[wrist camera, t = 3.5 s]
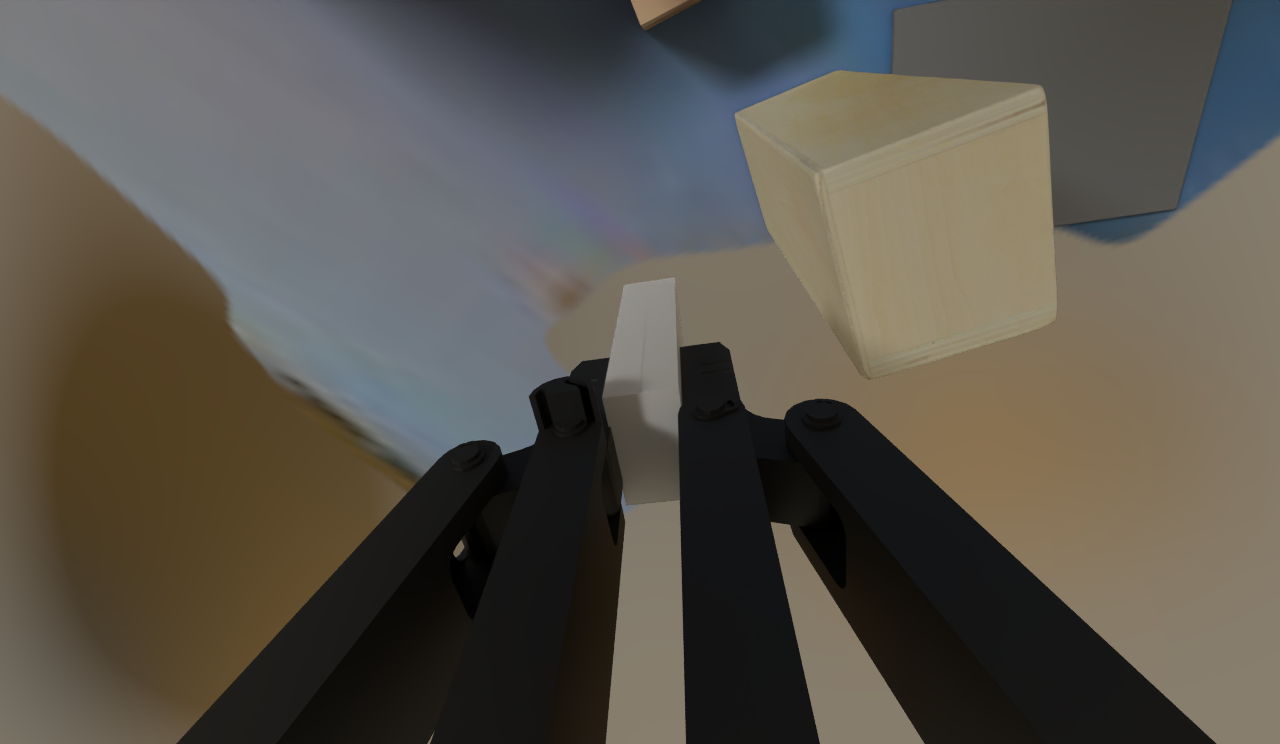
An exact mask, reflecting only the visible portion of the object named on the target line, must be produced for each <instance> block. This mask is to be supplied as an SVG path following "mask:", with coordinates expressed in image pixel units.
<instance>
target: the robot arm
mask: <svg viewBox="0 0 1280 744" xmlns="http://www.w3.org/2000/svg"><path fill="white" fill-rule="evenodd" d="M529 399H530V402H531V406H532V409H533V412H534V416H535V419H536V423H537V426H538V429H539V433H538V435H537V438H536V441H535V444H534V445H532V446H529V447H527V448H524V449H521V450H518V451H515V452H512V453H508V454H505V455H502V452H501V449H500V446H498V445H497V444H496V443H495V442H492V441H487V440H480V441H470V442H467V443H463V444H460V445H458V446H457V447H455V448H453V449H451V450H449V451H448V452H447V453H445V454H444V455H443V456H442V457H441V458H439V459H438V460H437V462H436V463H435V464H434V465H433V466H432V467H431V468H430V469H429V470H428V471H427V472H426V474H425V475H424V476H423V477H422V478H421V479H420V480H419V481H418V482H417V483H416V484H415V485H414V487H413V488H412V489H411V490H410V491H409V492H408V493H407V494H406V495H405V496H404V497H403V498H402V500H401V501H400V502H399V503H398V504H397V505H396V506H395V507H394V508H393V509H392V511H390V513H389V514H388V515H387V516H386V517H385V518H384V519H383V520H382V521H381V522H380V524H379V525H378V526H377V527H376V528H375V529H374V530H373V531H372V532H371V533H370V534H369V535H368V536H367V538H366V539H365V540H364V541H363V542H362V543H361V544H360V545H359V546H358V547H357V548H356V549H355V551H354V552H353V553H352V554H351V555H350V556H349V557H348V558H347V559H346V560H345V561H344V563H343V564H342V565H341V566H340V567H339V568H338V569H337V570H336V571H335V572H334V573H333V574H332V576H331V577H330V578H329V579H328V580H327V581H326V582H325V583H324V584H323V585H322V586H321V587H320V589H319V590H318V591H317V592H316V593H315V594H314V595H313V596H312V597H311V598H310V599H309V601H308V602H307V603H306V604H305V605H304V606H303V607H302V608H301V609H300V610H299V611H298V613H296V615H295V616H294V617H293V618H292V619H291V620H290V621H289V622H288V623H287V624H286V625H285V627H284V628H283V629H282V630H281V631H280V632H279V633H278V634H277V635H276V636H275V637H274V638H273V640H272V641H271V642H270V643H269V644H268V645H267V646H266V647H265V648H264V649H263V650H262V651H261V653H260V654H259V655H258V656H257V657H256V658H255V659H254V660H253V661H252V662H251V663H250V665H249V666H248V667H247V668H246V669H245V670H244V671H243V672H242V673H241V674H240V675H239V676H238V678H237V679H236V680H235V681H234V682H233V683H232V684H231V685H230V686H229V687H228V688H227V690H226V691H225V692H224V693H223V694H222V695H221V696H220V697H219V698H218V699H217V700H216V701H215V702H214V704H213V705H212V706H211V707H210V708H209V709H208V710H207V711H206V712H205V713H204V714H203V716H202V717H201V718H200V719H199V720H198V721H197V722H196V723H195V724H194V725H193V726H192V727H191V728H190V730H189V731H188V732H187V733H186V734H185V735H184V736H183V737H182V738H181V739H180V740H179V742H178V743H177V744H427V743H428V741H429V740H430V738H431V736H432V734H433V733H434V734H433V738H432V740H431V743H430V744H606V732H607V720H608V710H609V698H610V687H611V676H612V664H613V654H614V641H615V630H616V620H617V608H618V597H619V586H620V574H621V563H622V552H623V541H624V529H625V519H624V514H623V510H622V505H621V498H622V488H623V493H624V497H625V502H626V505H636V504H646V503H655V502H665V501H675V500H680V521H681V561H682V600H683V641H684V679H685V720H686V744H820V742H819V738H818V733H817V729H816V725H815V720H814V715H813V711H812V707H811V702H810V697H809V693H808V688H807V684H806V679H805V675H804V671H803V666H802V661H801V657H800V652H799V648H798V643H797V639H796V635H795V630H794V626H793V621H792V617H791V613H790V608H789V603H788V599H787V594H786V590H785V586H784V581H783V576H782V572H781V567H780V563H779V558H778V554H777V549H776V545H775V540H774V536H773V531H772V528H771V522H776V523H782V524H789V525H790V526H791V529H792V532H793V535H794V537H795V538H796V540H797V542H798V543H799V545H800V546H801V548H802V550H803V551H804V553H805V554H806V556H807V557H808V559H809V561H810V562H811V564H812V565H813V567H814V569H815V570H816V572H817V573H818V575H819V576H820V578H821V580H822V581H823V583H824V584H825V586H826V588H827V589H828V590H829V592H830V594H831V596H832V597H833V599H834V600H835V602H836V604H837V605H838V607H839V608H840V610H841V611H842V613H843V615H844V616H845V618H846V619H847V621H848V623H849V624H850V625H851V627H852V629H853V631H854V632H855V634H856V635H857V637H858V638H859V640H860V641H861V643H862V645H863V646H864V648H865V650H866V651H867V653H868V654H869V656H870V657H871V659H872V661H873V662H874V664H875V665H876V667H877V669H878V670H879V672H880V673H881V675H882V677H883V678H884V680H885V681H886V683H887V685H888V686H889V688H890V689H891V691H892V692H893V694H894V696H895V697H896V699H897V700H898V702H899V704H900V705H901V707H902V708H903V710H904V712H905V713H906V715H907V716H908V718H909V719H910V721H911V723H912V724H913V726H914V727H915V729H916V731H917V732H918V734H919V735H920V737H921V739H922V740H923V742H924V743H925V744H1216V743H1215V742H1214V741H1213V740H1212V739H1211V738H1209V737H1208V736H1207V735H1206V734H1205V733H1204V732H1203V731H1202V730H1201V729H1200V728H1199V727H1198V726H1197V725H1195V723H1193V722H1192V721H1191V720H1190V719H1189V718H1188V717H1187V716H1186V715H1185V714H1184V713H1182V711H1180V710H1179V709H1178V708H1177V707H1176V706H1175V705H1174V704H1173V703H1172V702H1171V701H1170V700H1169V699H1168V698H1166V697H1165V696H1164V695H1163V694H1162V693H1161V692H1160V691H1159V690H1158V689H1157V688H1156V687H1155V686H1154V685H1152V684H1151V683H1150V682H1149V681H1148V680H1147V679H1146V678H1145V677H1144V676H1143V675H1142V674H1141V673H1139V672H1138V671H1137V670H1136V669H1135V668H1134V667H1133V666H1132V665H1131V664H1130V663H1129V662H1127V660H1125V659H1124V658H1123V657H1122V656H1121V655H1120V654H1119V653H1118V652H1117V651H1115V649H1114V648H1112V647H1111V646H1110V645H1109V644H1108V643H1107V642H1106V641H1105V640H1104V639H1103V638H1102V637H1101V636H1099V635H1098V634H1097V633H1096V632H1095V631H1094V630H1093V629H1092V628H1091V627H1090V626H1089V625H1088V624H1087V623H1085V622H1084V621H1083V620H1082V619H1081V618H1080V617H1079V616H1078V615H1077V614H1076V613H1075V612H1074V611H1073V610H1071V609H1070V608H1069V607H1068V606H1067V605H1066V604H1065V603H1064V602H1063V601H1062V600H1061V599H1059V598H1058V597H1057V596H1056V595H1055V594H1054V593H1053V592H1052V591H1051V590H1050V589H1049V588H1048V587H1047V586H1045V584H1043V583H1042V582H1041V581H1040V580H1039V579H1038V578H1037V577H1036V576H1035V575H1034V574H1033V573H1031V572H1030V571H1029V570H1028V569H1027V568H1026V567H1025V566H1024V565H1023V564H1022V563H1021V562H1020V561H1019V560H1018V559H1016V558H1015V557H1014V556H1013V555H1012V554H1011V553H1010V552H1009V551H1008V550H1007V549H1006V548H1005V547H1003V546H1002V545H1001V544H1000V543H999V542H998V541H997V540H996V539H995V538H994V537H993V536H992V535H990V534H989V533H988V532H987V531H986V530H985V529H984V528H983V527H982V526H981V525H980V524H979V523H978V522H976V521H975V520H974V519H973V518H972V517H971V516H970V515H969V514H968V513H966V512H965V510H964V509H962V508H961V507H960V506H959V505H958V504H957V503H956V502H955V501H954V500H953V499H952V498H951V497H949V496H948V495H947V494H946V493H945V492H944V491H943V490H942V489H941V488H940V487H939V486H938V485H936V484H935V483H934V482H933V481H932V480H931V479H930V478H929V477H928V476H927V475H926V474H925V473H924V472H922V471H921V470H920V469H919V468H918V467H917V466H916V465H915V464H914V463H913V462H912V461H910V460H909V459H908V458H907V457H906V456H905V455H904V454H903V453H902V452H901V451H900V450H899V449H898V448H897V447H896V446H894V445H893V444H892V443H891V442H890V441H889V440H888V439H887V438H886V437H885V436H884V435H883V434H882V433H880V432H879V431H878V430H877V429H876V428H875V427H874V426H873V425H872V424H871V423H869V421H867V420H866V419H865V418H864V417H863V416H862V415H861V414H860V413H859V412H858V411H857V410H856V409H854V408H852V407H851V406H849V405H848V404H846V403H843V402H839V401H836V400H830V399H815V400H807V401H804V402H801V403H798V404H796V405H794V406H793V407H791V408H790V409H789V410H788V411H787V413H786V415H785V418H784V420H782V419H781V420H780V419H771V418H764V417H761V416H758V415H755V414H752V413H751V412H749V411H747V410H746V409H745V406H744V405H743V403H742V402H741V400H740V396H739V391H738V387H737V382H736V378H735V374H734V369H733V364H732V360H731V355H730V350H729V349H727V348H726V347H725V346H724V345H722V344H721V343H720V342H716V343H708V344H700V345H692V346H685V347H684V340H683V334H682V326H681V320H680V312H679V305H678V299H677V291H676V284H675V278H668V279H661V280H654V281H647V282H640V283H633V284H627V285H624V289H623V294H622V299H621V304H620V310H619V314H618V320H617V325H616V330H615V335H614V340H613V345H612V350H611V355H610V358H604V359H596V360H588V361H582V362H581V363H580V364H579V365H578V366H577V367H576V368H575V369H574V370H573V371H572V372H571V375H570V376H566V377H562V378H557V379H553V380H551V381H548V382H546V383H544V384H542V385H540V386H539V387H537V388H536V389H534V390H533V392H532V393H531V394H530V396H529ZM461 540H462V542H463V545H464V547H465V548H464V549H463V551H462V552H461V554H460V555H459V556H457V557H455V556H454V554H453V551H454V550H455V548H456V546H457V545H458V543H459V542H460V541H461ZM434 731H435V732H434Z"/></svg>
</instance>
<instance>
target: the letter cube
mask: <svg viewBox="0 0 1280 744" xmlns="http://www.w3.org/2000/svg"><path fill="white" fill-rule="evenodd" d="M700 1H702V0H631V2H632V5H633V7H634V10H635V12H636V15H637V17H638V20H639V22H640V25H641V27H642V28H643V30H644V31H646V30H648V29H650V28H652V27H653V26H655V25H657V24H659V23H661V22H663V21H665V20H667V19H668V18H670V17H672V16H674V15H676V14H678V13H680V12H682V11H684V10H685V9H687V8H689V7H691V6H693V5H695V4H697V3H699V2H700Z"/></svg>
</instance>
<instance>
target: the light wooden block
mask: <svg viewBox="0 0 1280 744" xmlns="http://www.w3.org/2000/svg"><path fill="white" fill-rule="evenodd" d="M735 120H736V124H737V128H738V132H739V135H740V139H741V142H742V146H743V149H744V153H745V156H746V159H747V163H748V166H749V170H750V173H751V177H752V180H753V184H754V187H755V190H756V194H757V197H758V201H759V204H760V208H761V211H762V214H763V218H764V221H765V224H766V227H767V229H768V231H769V233H770V235H771V236H772V238H773V239H774V241H775V242H776V244H777V245H778V247H779V249H780V250H781V252H782V253H783V255H784V256H785V258H786V259H787V261H788V263H789V264H790V266H791V267H792V269H793V270H794V272H795V273H796V275H797V276H798V278H799V280H800V281H801V283H802V284H803V286H804V287H805V289H806V290H807V292H808V293H809V295H810V297H811V298H812V299H813V301H814V303H815V304H816V306H817V307H818V309H819V311H820V312H821V314H822V315H823V317H824V319H825V320H826V322H827V323H828V325H829V327H830V328H831V329H832V331H833V333H834V334H835V336H836V337H837V339H838V341H839V342H840V344H841V345H842V347H843V349H844V350H845V352H846V353H847V355H848V356H849V358H850V359H851V361H852V362H853V364H854V366H855V367H856V369H857V370H858V372H859V373H860V375H862V376H863V377H864V378H865V379H868V380H869V379H876V378H880V377H885V376H888V375H891V374H894V373H898V372H901V371H904V370H907V369H910V368H914V367H917V366H920V365H924V364H927V363H930V362H934V361H937V360H940V359H943V358H946V357H950V356H953V355H957V354H960V353H963V352H966V351H969V350H973V349H976V348H979V347H983V346H986V345H989V344H993V343H996V342H999V341H1002V340H1006V339H1009V338H1013V337H1016V336H1019V335H1023V334H1026V333H1029V332H1031V331H1034V330H1037V329H1040V328H1043V327H1045V326H1047V325H1049V324H1051V323H1053V322H1055V320H1056V318H1057V308H1058V301H1057V283H1056V265H1055V247H1054V228H1053V209H1052V191H1051V170H1050V148H1049V128H1048V111H1047V101H1046V95H1045V92H1044V89H1043V87H1042V86H1041V85H1036V84H1025V83H1011V82H995V81H981V80H968V79H955V78H939V77H918V76H904V75H893V74H877V73H865V72H852V71H842V70H838V71H835V72H832V73H829V74H827V75H824V76H822V77H819V78H817V79H814V80H812V81H809V82H807V83H805V84H802V85H800V86H798V87H795V88H793V89H791V90H788V91H786V92H783V93H781V94H779V95H776V96H774V97H771V98H769V99H767V100H764V101H762V102H759V103H757V104H755V105H752V106H750V107H748V108H745V109H743V110H741V111H738V112H736V113H735Z"/></svg>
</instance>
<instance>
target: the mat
mask: <svg viewBox="0 0 1280 744" xmlns="http://www.w3.org/2000/svg"><path fill="white" fill-rule="evenodd" d="M1232 2H1233V0H944V1H938V2H933V3H928V4H922V5H917V6H912V7H907V8H901V9H896V10H893V23H892V50H891V74H893V75H904V76H918V77H939V78H955V79H968V80H981V81H995V82H1011V83H1025V84H1036V85H1041V86H1042V87H1043V89H1044V92H1045V95H1046V101H1047V111H1048V128H1049V148H1050V170H1051V191H1052V209H1053V226H1060V225H1067V224H1074V223H1080V222H1087V221H1094V220H1101V219H1108V218H1115V217H1122V216H1129V215H1136V214H1143V213H1150V212H1157V211H1164V210H1171V209H1176V207H1177V204H1178V200H1179V196H1180V193H1181V189H1182V185H1183V182H1184V178H1185V174H1186V171H1187V167H1188V163H1189V160H1190V156H1191V152H1192V149H1193V145H1194V141H1195V138H1196V134H1197V130H1198V127H1199V123H1200V119H1201V116H1202V112H1203V108H1204V104H1205V101H1206V97H1207V93H1208V90H1209V86H1210V82H1211V79H1212V75H1213V71H1214V68H1215V64H1216V60H1217V57H1218V53H1219V49H1220V46H1221V42H1222V38H1223V35H1224V31H1225V27H1226V24H1227V20H1228V16H1229V13H1230V9H1231V5H1232Z"/></svg>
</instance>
